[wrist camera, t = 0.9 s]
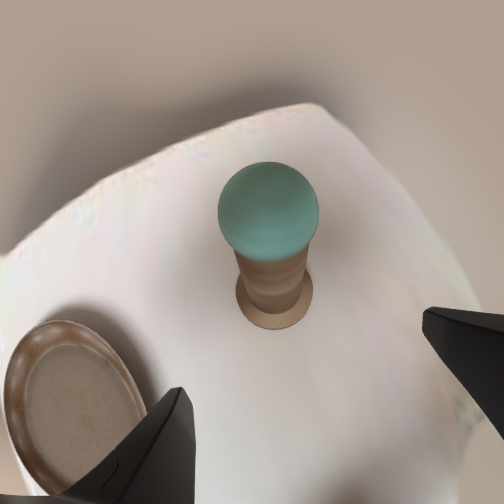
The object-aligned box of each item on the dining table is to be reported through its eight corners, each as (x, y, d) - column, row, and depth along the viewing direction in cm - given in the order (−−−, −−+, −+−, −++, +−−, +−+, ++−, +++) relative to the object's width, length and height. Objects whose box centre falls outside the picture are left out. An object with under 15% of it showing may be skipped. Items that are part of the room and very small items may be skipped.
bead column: (326, 296, 23) (369, 183, 11) (269, 344, 21) (253, 274, 9) (278, 248, 26) (272, 119, 13) (223, 289, 24) (167, 178, 12)
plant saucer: (202, 386, 20) (189, 385, 17) (135, 541, 11) (119, 552, 9) (55, 299, 25) (37, 288, 23) (11, 431, 17) (-7, 429, 14)
